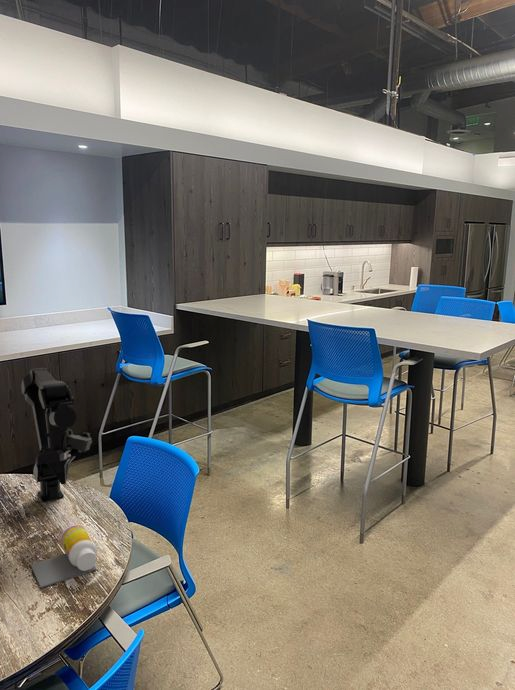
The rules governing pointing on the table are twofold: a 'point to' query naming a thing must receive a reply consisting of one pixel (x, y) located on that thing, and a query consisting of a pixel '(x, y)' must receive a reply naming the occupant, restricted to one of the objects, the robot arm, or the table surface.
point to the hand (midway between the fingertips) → (63, 484)
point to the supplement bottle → (79, 547)
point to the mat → (56, 570)
